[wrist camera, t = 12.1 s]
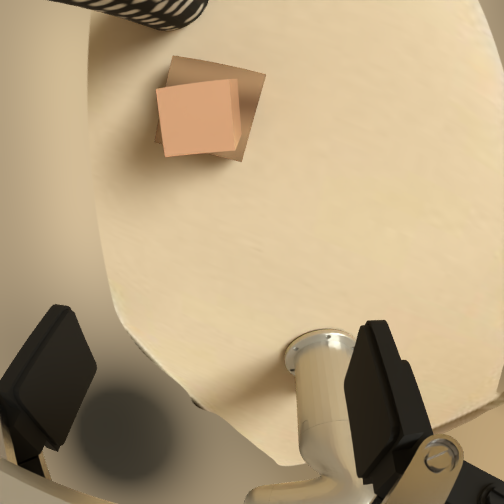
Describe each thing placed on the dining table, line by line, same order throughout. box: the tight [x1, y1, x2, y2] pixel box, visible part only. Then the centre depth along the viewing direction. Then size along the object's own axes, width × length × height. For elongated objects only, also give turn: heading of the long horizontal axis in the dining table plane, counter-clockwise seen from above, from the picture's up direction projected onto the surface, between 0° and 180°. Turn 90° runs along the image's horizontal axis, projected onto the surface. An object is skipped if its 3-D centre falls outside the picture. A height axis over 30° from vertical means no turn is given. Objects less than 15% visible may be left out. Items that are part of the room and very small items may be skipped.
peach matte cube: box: [156, 79, 242, 157], centre depth 25 cm, size 6×6×7 cm
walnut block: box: [155, 56, 266, 162], centre depth 30 cm, size 9×9×5 cm
